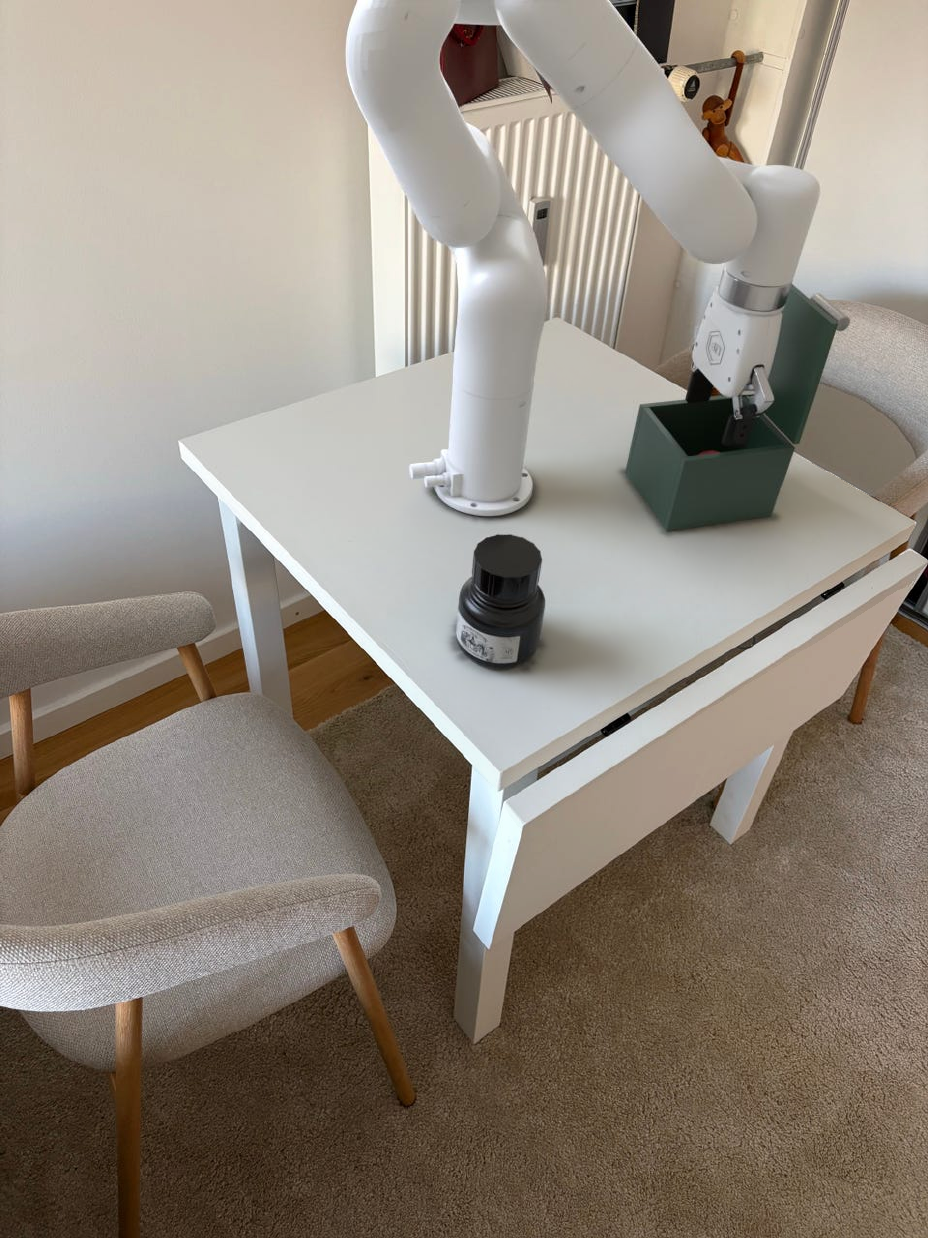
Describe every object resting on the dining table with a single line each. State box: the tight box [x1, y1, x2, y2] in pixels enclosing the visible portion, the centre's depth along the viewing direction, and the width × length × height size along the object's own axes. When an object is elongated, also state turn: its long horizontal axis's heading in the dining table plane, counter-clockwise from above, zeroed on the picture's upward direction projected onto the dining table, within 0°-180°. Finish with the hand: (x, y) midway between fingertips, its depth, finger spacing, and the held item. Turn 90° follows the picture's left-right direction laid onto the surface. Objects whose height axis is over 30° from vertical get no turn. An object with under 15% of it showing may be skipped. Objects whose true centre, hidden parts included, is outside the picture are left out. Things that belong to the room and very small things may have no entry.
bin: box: [624, 394, 796, 532], centre depth 124 cm, size 15×13×10 cm
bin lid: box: [743, 283, 851, 446], centre depth 118 cm, size 16×13×5 cm
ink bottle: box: [455, 533, 546, 670], centre depth 102 cm, size 10×9×12 cm
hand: (714, 421), depth 121 cm, fingers open, 9 cm apart
